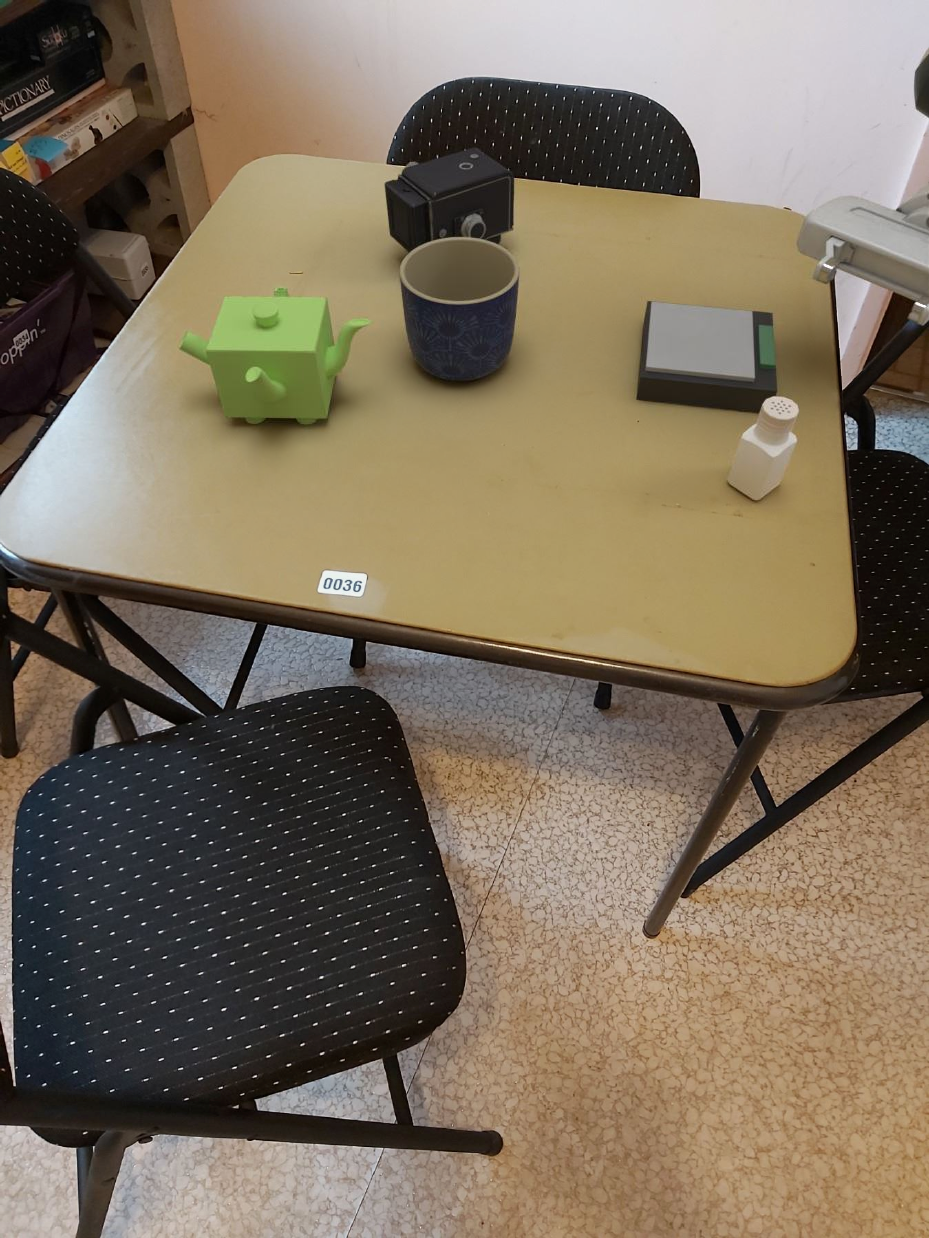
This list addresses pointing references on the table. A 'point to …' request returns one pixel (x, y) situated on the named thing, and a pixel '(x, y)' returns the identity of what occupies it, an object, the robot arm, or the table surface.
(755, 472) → the pepper shaker
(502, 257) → the planter
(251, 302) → the kettle
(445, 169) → the camera
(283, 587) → the table surface
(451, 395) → the table surface
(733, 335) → the scale
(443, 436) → the table surface
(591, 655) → the table surface
